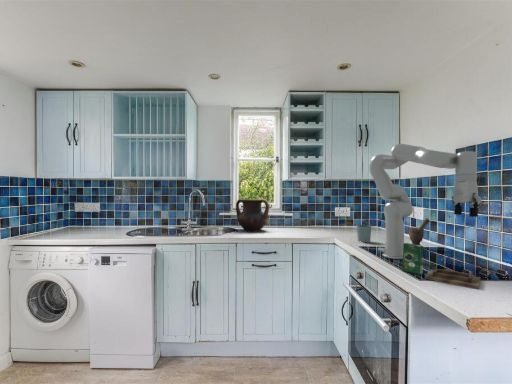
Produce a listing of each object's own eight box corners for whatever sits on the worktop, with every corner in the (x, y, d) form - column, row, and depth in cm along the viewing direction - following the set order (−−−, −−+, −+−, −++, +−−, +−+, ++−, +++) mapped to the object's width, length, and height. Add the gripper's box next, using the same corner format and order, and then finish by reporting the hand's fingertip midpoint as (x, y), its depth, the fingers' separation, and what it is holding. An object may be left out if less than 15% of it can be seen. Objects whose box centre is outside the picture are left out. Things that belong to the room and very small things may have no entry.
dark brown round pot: (270, 229, 270) (271, 198, 270) (267, 233, 243) (268, 199, 242) (238, 228, 275) (238, 197, 275) (231, 232, 247) (231, 198, 247)
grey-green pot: (373, 241, 205) (373, 225, 205) (368, 243, 198) (368, 226, 198) (359, 240, 212) (359, 224, 212) (354, 241, 205) (354, 225, 205)
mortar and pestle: (422, 246, 188) (423, 217, 188) (431, 249, 179) (431, 218, 179) (406, 246, 188) (406, 217, 187) (413, 249, 179) (414, 218, 179)
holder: (424, 279, 119) (424, 272, 119) (430, 271, 129) (430, 266, 129) (478, 289, 107) (478, 282, 107) (480, 280, 117) (480, 273, 117)
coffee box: (423, 274, 125) (423, 245, 125) (420, 275, 124) (420, 246, 124) (405, 270, 132) (405, 242, 132) (402, 271, 130) (402, 243, 130)
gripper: (445, 179, 137) (444, 213, 137) (472, 177, 120) (471, 217, 120) (460, 179, 137) (460, 213, 137) (489, 177, 120) (489, 217, 120)
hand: (465, 215), depth 129 cm, fingers open, 9 cm apart
